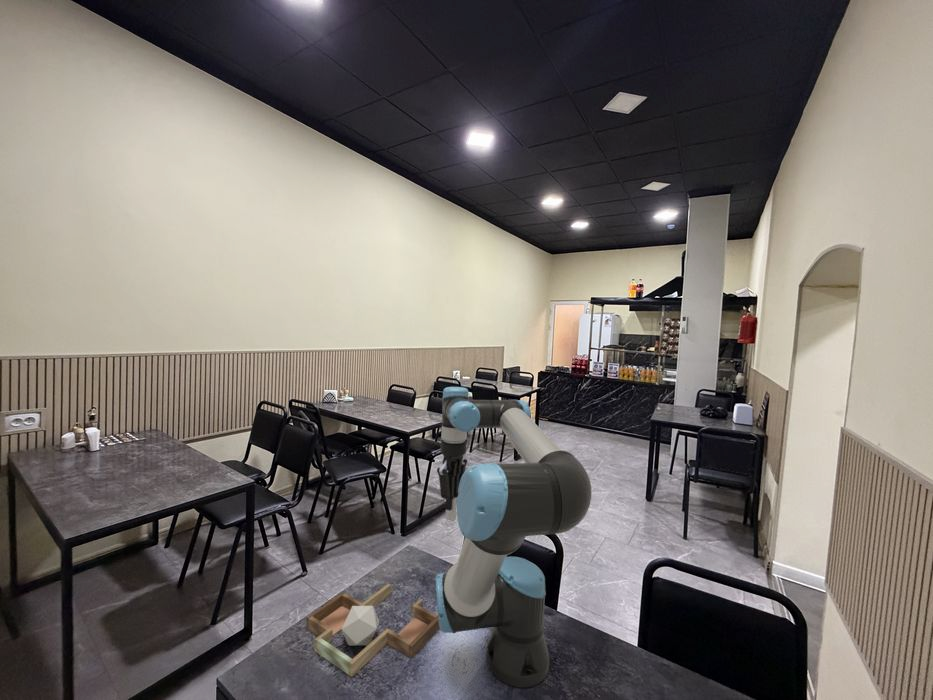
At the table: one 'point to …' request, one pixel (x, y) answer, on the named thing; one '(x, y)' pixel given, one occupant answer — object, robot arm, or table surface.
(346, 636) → the die
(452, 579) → the robot arm
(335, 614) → the channel
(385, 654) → the table surface
